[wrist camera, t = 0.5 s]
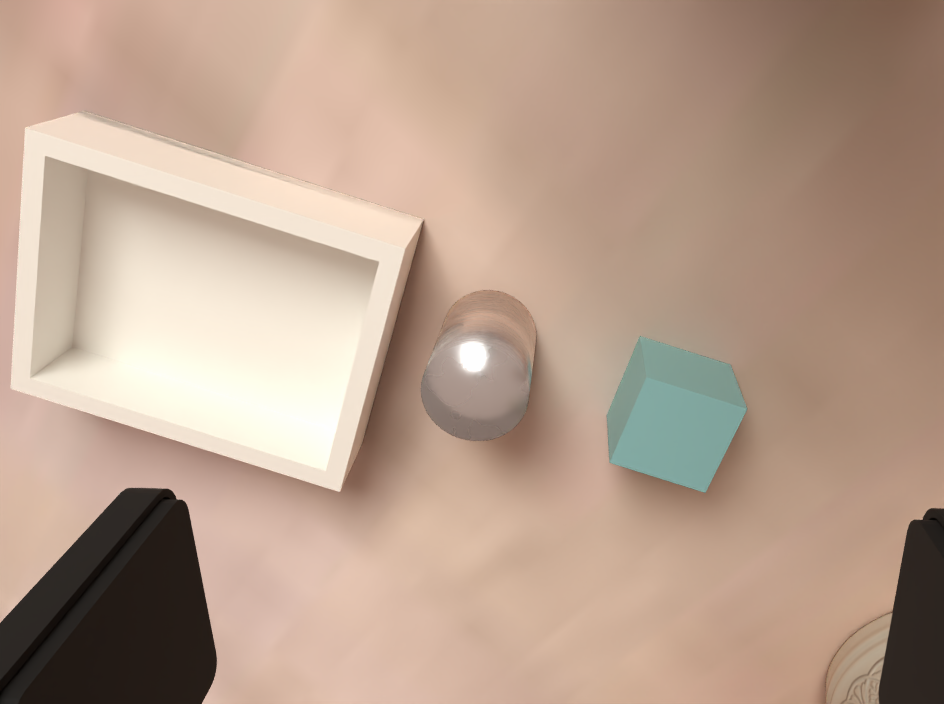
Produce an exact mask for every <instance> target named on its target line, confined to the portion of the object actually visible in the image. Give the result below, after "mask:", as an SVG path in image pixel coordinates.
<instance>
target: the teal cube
mask: <svg viewBox="0 0 944 704" xmlns="http://www.w3.org/2000/svg"><path fill="white" fill-rule="evenodd" d="M746 411H747V407H746V404H745V401H744V399H743V396H742V394H741V391H740V388H739V386H738V383H737V380H736V378H735V375H734V372H733V370H732V367H731V365H730V364H726V363H723V362H720V361H717V360H714V359H711V358H708V357H704V356H701V355H698V354H695V353H692V352H689V351H686V350H682V349H679V348H676V347H673V346H670V345H667V344H664V343H660V342H657V341H654V340H651V339H648V338H645V337H641V336H640V337H639V339H638V342H637V344H636V347H635V349H634V351H633V354H632V356H631V359H630V361H629V363H628V366H627V368H626V371H625V373H624V375H623V378H622V380H621V382H620V385H619V387H618V390H617V392H616V394H615V397H614V399H613V402H612V404H611V406H610V409H609V411H608V414H607V427H608V445H609V462H610V463H612V464H615V465H619V466H622V467H625V468H628V469H631V470H634V471H638V472H641V473H644V474H647V475H650V476H653V477H657V478H660V479H663V480H666V481H669V482H672V483H676V484H679V485H682V486H685V487H688V488H691V489H695V490H698V491H701V492H704V493H706V491H707V489H708V487H709V485H710V483H711V481H712V479H713V477H714V475H715V473H716V471H717V469H718V467H719V465H720V463H721V461H722V459H723V457H724V455H725V453H726V451H727V449H728V447H729V445H730V443H731V441H732V439H733V437H734V435H735V433H736V431H737V429H738V427H739V425H740V423H741V421H742V419H743V417H744V415H745V413H746Z"/></svg>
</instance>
